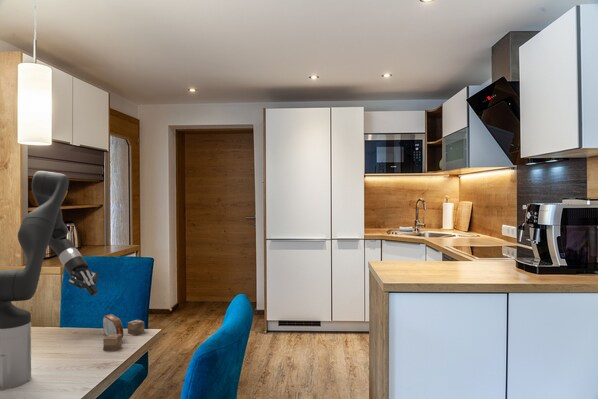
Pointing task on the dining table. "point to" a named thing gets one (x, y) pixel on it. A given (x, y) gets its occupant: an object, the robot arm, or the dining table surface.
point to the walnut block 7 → (136, 327)
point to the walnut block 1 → (112, 342)
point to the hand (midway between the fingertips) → (95, 294)
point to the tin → (112, 325)
